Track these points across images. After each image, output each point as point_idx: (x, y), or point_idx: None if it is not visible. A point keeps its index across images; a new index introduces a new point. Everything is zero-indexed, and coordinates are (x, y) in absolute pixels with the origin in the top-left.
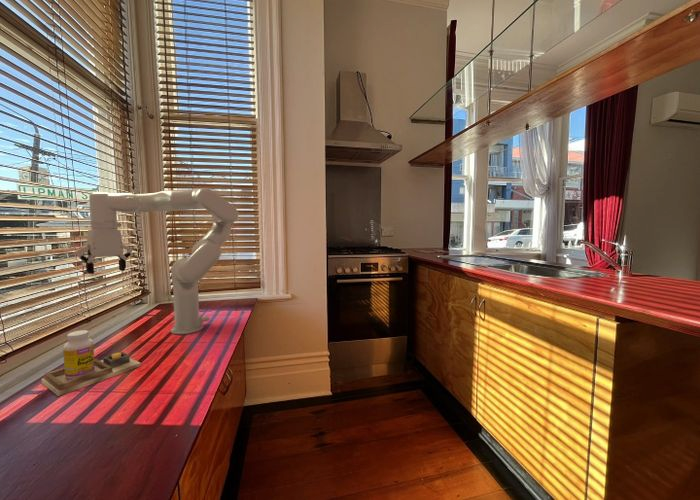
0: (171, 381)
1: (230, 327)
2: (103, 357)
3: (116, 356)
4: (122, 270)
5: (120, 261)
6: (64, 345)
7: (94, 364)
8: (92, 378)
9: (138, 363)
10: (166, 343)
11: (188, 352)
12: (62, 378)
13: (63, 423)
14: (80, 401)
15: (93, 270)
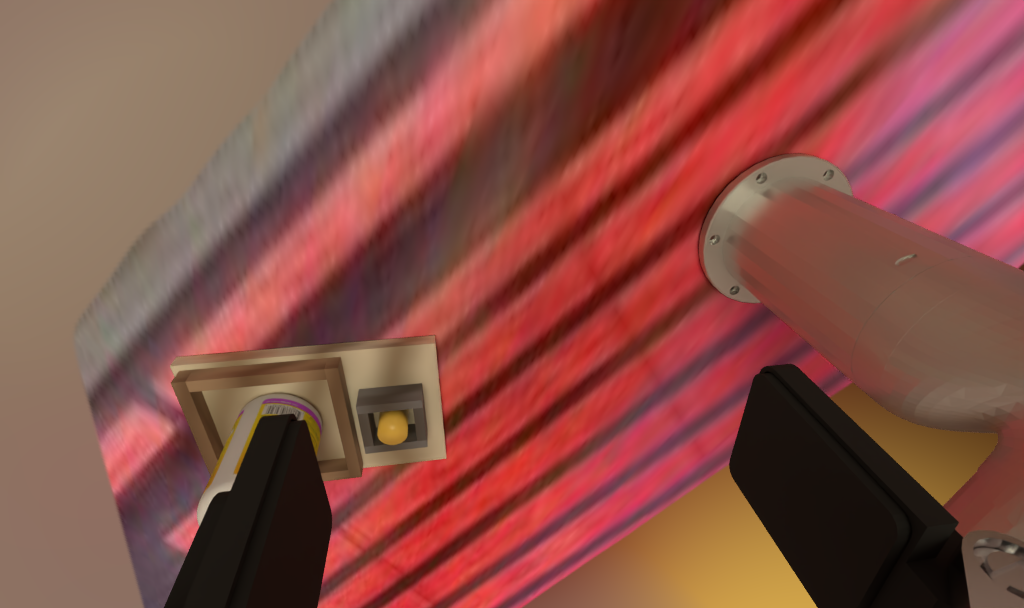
0: (455, 564)
1: None
2: (356, 406)
3: (389, 441)
4: (739, 443)
5: (850, 568)
6: (198, 522)
7: (318, 446)
8: None
9: (439, 458)
10: (607, 323)
11: (589, 452)
12: (232, 408)
13: None
14: None
15: (317, 570)
